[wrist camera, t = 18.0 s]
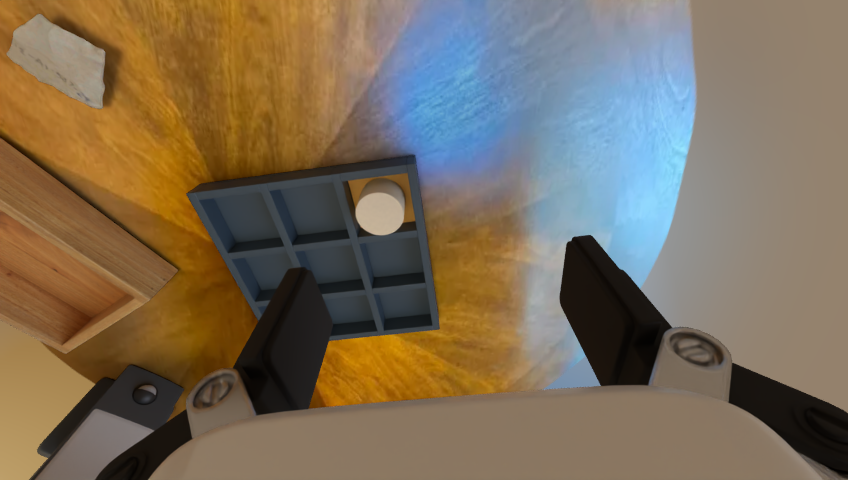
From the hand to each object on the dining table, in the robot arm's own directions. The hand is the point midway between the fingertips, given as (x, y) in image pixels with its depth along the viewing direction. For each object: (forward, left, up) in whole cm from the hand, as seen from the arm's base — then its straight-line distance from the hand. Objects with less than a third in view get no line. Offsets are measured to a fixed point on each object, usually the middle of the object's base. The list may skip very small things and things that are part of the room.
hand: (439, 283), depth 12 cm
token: (+5, +5, -20) cm, 21 cm away
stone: (+27, -10, -21) cm, 35 cm away
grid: (+12, +12, -21) cm, 27 cm away
